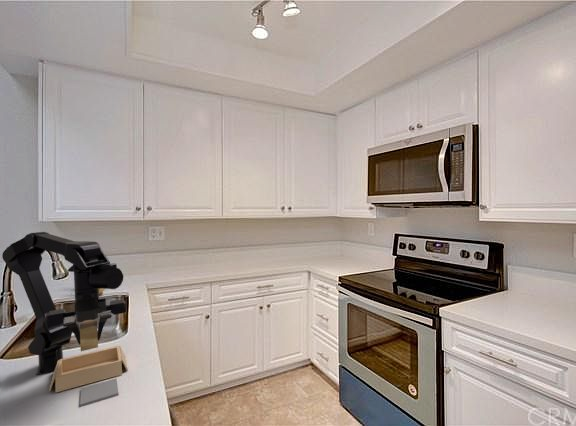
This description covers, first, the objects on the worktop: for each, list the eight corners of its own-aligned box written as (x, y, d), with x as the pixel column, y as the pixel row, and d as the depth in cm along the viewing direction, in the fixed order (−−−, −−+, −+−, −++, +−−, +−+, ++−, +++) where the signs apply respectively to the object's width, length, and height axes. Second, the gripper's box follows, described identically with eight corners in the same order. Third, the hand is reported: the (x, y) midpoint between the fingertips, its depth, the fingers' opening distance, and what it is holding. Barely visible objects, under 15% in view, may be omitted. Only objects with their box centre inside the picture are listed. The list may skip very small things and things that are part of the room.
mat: (81, 392, 80) (81, 388, 80) (116, 381, 85) (116, 378, 84) (80, 408, 74) (79, 404, 73) (118, 396, 78) (118, 392, 78)
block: (81, 341, 91) (80, 321, 91) (97, 338, 93) (96, 318, 93) (80, 351, 85) (79, 329, 84) (98, 347, 87) (97, 326, 86)
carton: (54, 372, 90) (53, 359, 90) (124, 355, 100) (123, 342, 100) (48, 397, 78) (47, 381, 78) (128, 375, 88) (127, 360, 88)
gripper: (40, 300, 76) (43, 363, 76) (126, 287, 86) (129, 343, 86) (46, 290, 85) (49, 346, 86) (123, 280, 95) (125, 330, 95)
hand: (89, 342), depth 88 cm, fingers closed on block, 4 cm apart
